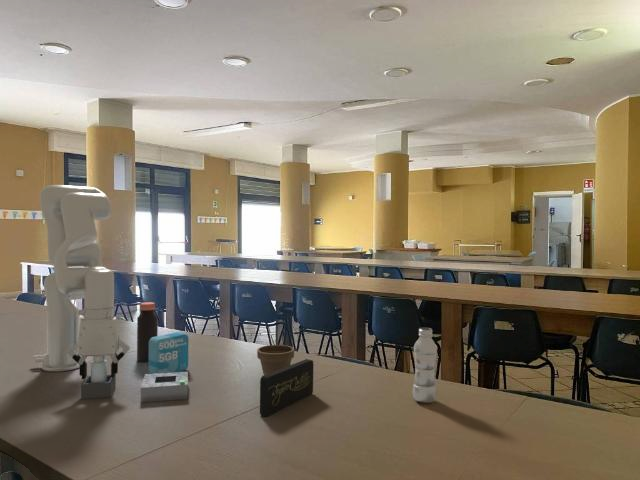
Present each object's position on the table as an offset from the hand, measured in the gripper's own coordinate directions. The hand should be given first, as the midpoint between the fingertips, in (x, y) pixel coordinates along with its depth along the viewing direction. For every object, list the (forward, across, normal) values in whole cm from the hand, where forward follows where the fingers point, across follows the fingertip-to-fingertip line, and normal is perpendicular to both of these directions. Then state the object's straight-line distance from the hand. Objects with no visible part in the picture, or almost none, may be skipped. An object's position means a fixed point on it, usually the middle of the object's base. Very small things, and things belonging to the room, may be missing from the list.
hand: (98, 376), depth 132 cm
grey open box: (+5, 0, 0) cm, 5 cm away
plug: (+5, 0, 0) cm, 5 cm away
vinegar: (+5, +10, +33) cm, 35 cm away
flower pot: (+5, +50, 0) cm, 50 cm away
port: (+5, +18, -4) cm, 19 cm away
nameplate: (+5, +50, -20) cm, 54 cm away
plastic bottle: (+5, +87, -26) cm, 91 cm away
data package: (+5, +18, +16) cm, 25 cm away
